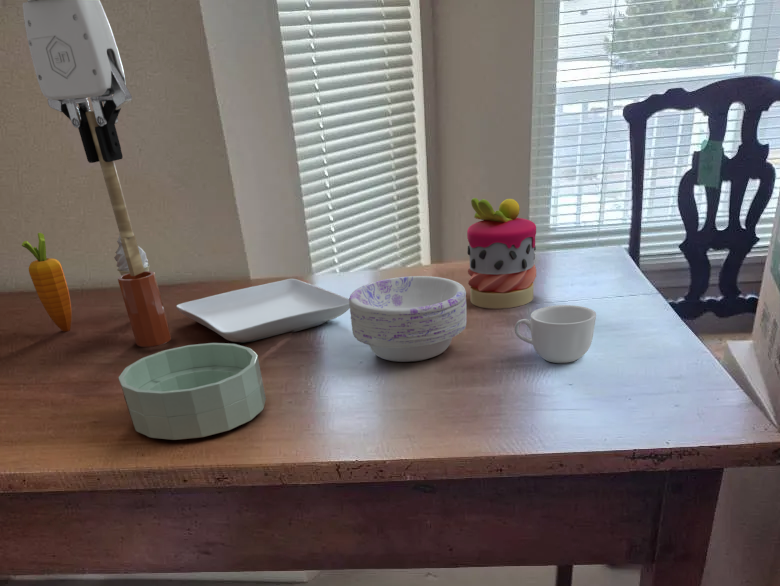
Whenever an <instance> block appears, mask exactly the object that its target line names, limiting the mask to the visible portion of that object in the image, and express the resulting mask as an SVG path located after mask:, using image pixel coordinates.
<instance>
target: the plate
mask: <svg viewBox="0 0 780 586" xmlns="http://www.w3.org/2000/svg"><path fill="white" fill-rule="evenodd" d="M175 307H176V310H177V311H179V312H180V313H181V314H182V315H184V316H185V317H187V318H188V319H190V320H191V321H194V322H197V323H198V324H200V325H202V326H203V327H205V328H207V329H209V330H211V331H213V332H215V333H216V334H218V335H219V336H221V338H223V339H224V340H227V341H229V342H233V343H251V342H255V341H258V340H263V339H267V338H270V337H274V336H278V335H281V334H286V333H289V332H291V333H296V332H299V331H303V330H307V329H311V328H314V327H318V326H321V325H323V324H325V323H326V322H329V321H332V320H334V319H336V318H339V317H340V316H342V315H343V314H346V312H348V311H349V310H350V307H349V298H348V297H345V296H344V295H341V294H338V293H336V292H333V291H330V290H328V289H326V288H322V287H319V286H317V285H315V284H312V283H309V282H305V281H304V280H303V281H302V280H300V279H296V278H286V279H283V280H277V281H273V282H267V283H265V284H259V285H253V286H248V287H245V288H240V289H234V290H231V291H227V292H223V293H222V292H221V293H219V294H214V295H209V296H206V297H202V298H198V299H193V300H190V301H185V302H182V303H178V304H176V306H175Z"/></svg>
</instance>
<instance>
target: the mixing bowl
mask: <svg viewBox="0 0 780 586" xmlns="http://www.w3.org/2000/svg"><path fill="white" fill-rule="evenodd" d="M117 379H118V381H119V385H120V388H121V391H122V394H123V398H124V401H125V404H126V408H127V410H128V415H129V417H130V420H131V423H132V426H133V428H134V430H135V432H136V433H139V434H141V435H143V436H146V437H147V438H151V439H160V440H161V439H162V440H171V441H177V440H179V441H180V440H187V439H189V440H190V439H199V438H205V437H209V436H212V435H217V434H220V433H224V432H228V431H231V430H233V429H235V428H237V427H240V426H241V425H244V424H246V423H248V422H250V421H252V420H253V419H254V418H256V416H258V415H259V414H260V413H261V412H262V411H263V410H264V409H265V405H266V401H267V400H266V399H267V397H266V391H265V386H264V381H263V377H262V370H261V365H260V362H259V355H258V354H257V353H256V352H255V351H254V350H253V349H252V348H251V347H249V346H248V347H247V346H244V345H240V344H237V343H229V342H228V343H225V342H208V343H206V342H205V343H198V344H188V345H182V346H179V347H173V348H169V349H165V350H161V351H157V352H155V353H153V354H149V355H147V356H144V357H142V358H140V359H138V360H136V361H134V362H133V363H131V364H129V365H127V366H126V367H125V368H124V369H123V371H122V372H121V373H120V374H119V376H118V378H117Z"/></svg>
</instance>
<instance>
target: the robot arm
mask: <svg viewBox="0 0 780 586" xmlns="http://www.w3.org/2000/svg"><path fill="white" fill-rule="evenodd" d="M22 15H23V22H24V29H25V33H26V39H27V45H28V48H29V53H30V57H31V61H32V65H33V69H34V72H35V76H36V80H37V84H38V86H39V90H40V92H41V94H42V95H43V96H44V97H45V98H46V99H47V105H48V107H49V108H51V109H53V110H55V111H58V112H60V113H62V114H63V115H65V117H67V118H68V119H69V120H70V122H71V125H72V126H73V127H74V128H75V129H78V133H79V136H80V139H81V143H82V146H83V150H84V153H85V156H86V160H87V163H89V164H92V163H98V162H99V159H98V155H97V151H96V148H95V144H94V141H93V137H92V134H91V130H90V127H89V123H88V120H87V116H86V112H89V111H94V114H95V118H96V121H97V123H98V125H99V126H97V127H95V132H96V136H97V139H98V143H99V146H100V150H101V154H102V157H103V160H104V161H105V162H111V161H114V162H115V161H120V160H122V159H123V152H122V146H121V144H120V139H119V136H118V132H117V127H116V125H117V124H118V122H119V114H120V112H121V110H122V108H124V107H125V106H126V105H127V104H129V103H131V101H132V99H133V96H132V94H131V92H130V90H129V88H128V86H127V83H126V76H125V71H124V67H123V63H122V59H121V55H120V52H119V49H118V46H117V43H116V42H117V41H116V39H115V35H114V33H113V30H112V27H111V25H110V22H109V18H108V17H107V13H106V11H105V9H104V7H103V4H102V2H101V0H26V1H25V2H22ZM88 98H90V103H91V106H92V110H91V107H90V103H89V100H88ZM99 163H100V162H99Z"/></svg>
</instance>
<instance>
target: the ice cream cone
mask: <svg viewBox="0 0 780 586" xmlns="http://www.w3.org/2000/svg"><path fill="white" fill-rule="evenodd" d="M118 233H119V232H118ZM120 239H121V236H120V233H119V235H118V238H117V241H116V242H117V244H118V247H117V249H116V251H115V256H114V260H115V261H116V267H117V271H118V272H119V274H120V276H122V275H124V274H128V273H130V271H129V268H128V264H127V261H126V257H125V254H124V250H123V247H122V243H121V240H120ZM138 249H139V252H140V256H141V260H142V263H143V267H144V271H150V266H151V265H150V263H149V259H148V258H147V253H146V251H144V249H143V248H142V247H140V246H139V245H138Z"/></svg>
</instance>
